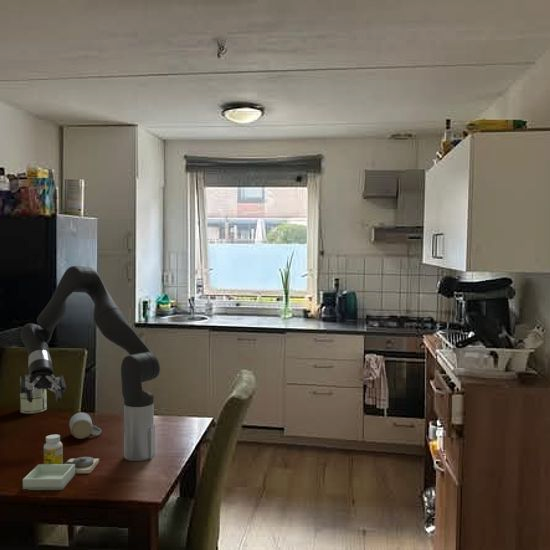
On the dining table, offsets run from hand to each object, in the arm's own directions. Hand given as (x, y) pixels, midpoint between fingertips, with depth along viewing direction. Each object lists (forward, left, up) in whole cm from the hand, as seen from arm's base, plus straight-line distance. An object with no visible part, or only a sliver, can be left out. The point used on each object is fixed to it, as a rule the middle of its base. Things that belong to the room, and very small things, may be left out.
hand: (44, 400), depth 181 cm
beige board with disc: (-17, +16, -16) cm, 28 cm away
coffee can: (+22, -45, -16) cm, 52 cm away
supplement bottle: (-9, +16, -16) cm, 25 cm away
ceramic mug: (-9, -13, -16) cm, 23 cm away
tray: (-12, +27, -16) cm, 34 cm away
